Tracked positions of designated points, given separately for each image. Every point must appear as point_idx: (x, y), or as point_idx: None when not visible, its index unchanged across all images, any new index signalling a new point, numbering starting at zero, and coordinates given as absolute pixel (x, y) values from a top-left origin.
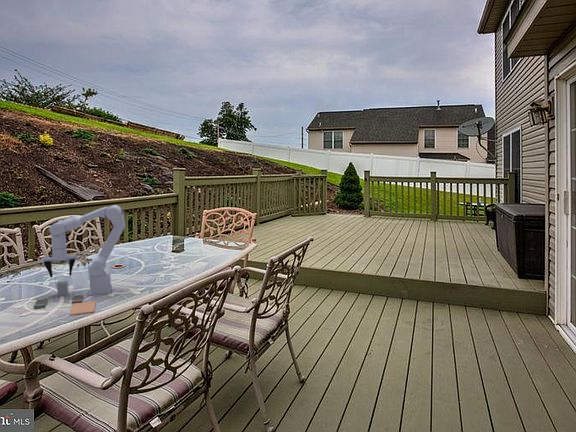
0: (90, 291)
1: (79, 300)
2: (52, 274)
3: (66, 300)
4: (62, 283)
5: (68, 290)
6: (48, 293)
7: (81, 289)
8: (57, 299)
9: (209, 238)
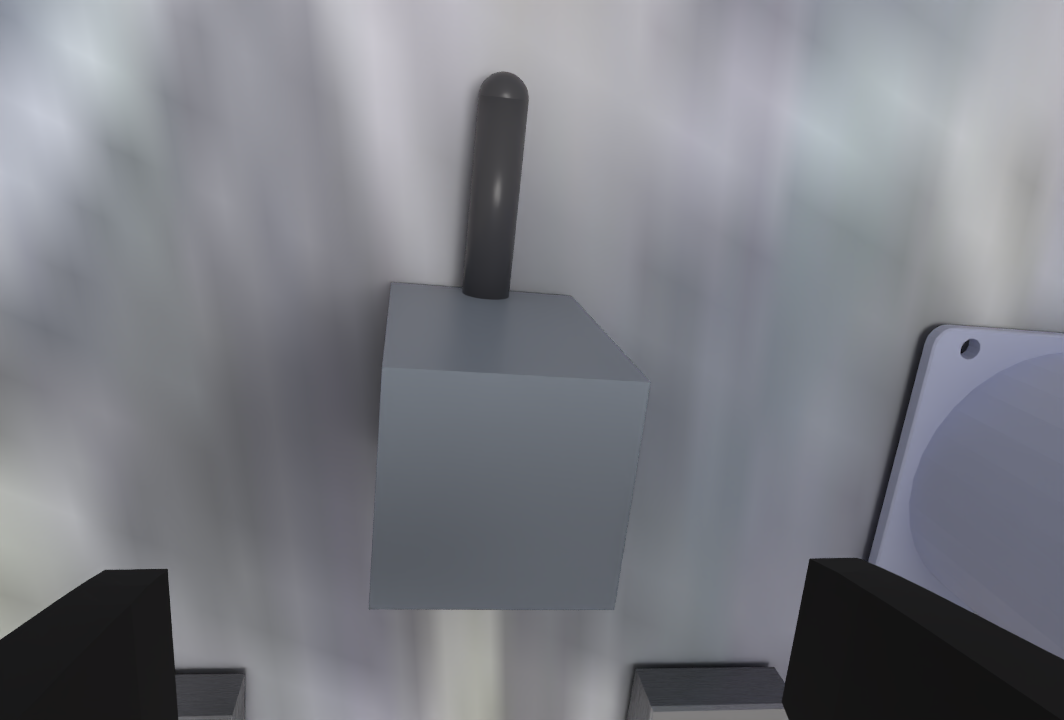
0: (927, 541)
1: None
2: (140, 617)
3: (529, 683)
4: (505, 584)
5: (582, 312)
6: (158, 106)
7: (811, 141)
8: None
9: None
